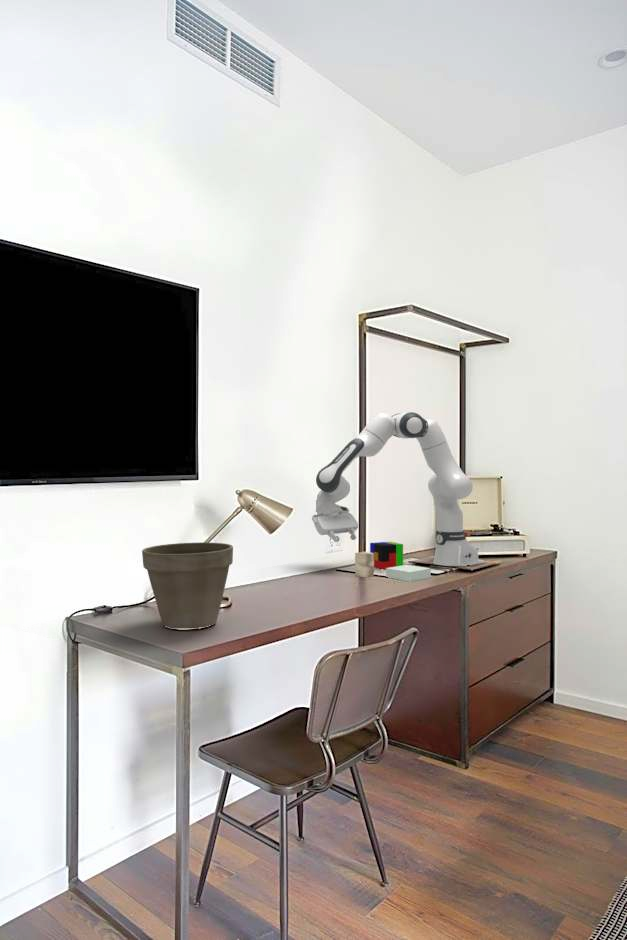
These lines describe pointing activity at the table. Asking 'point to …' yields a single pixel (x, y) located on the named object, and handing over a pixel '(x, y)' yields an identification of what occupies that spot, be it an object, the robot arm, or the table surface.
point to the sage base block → (408, 573)
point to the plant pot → (188, 581)
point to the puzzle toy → (387, 554)
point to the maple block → (364, 564)
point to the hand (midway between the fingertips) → (346, 539)
